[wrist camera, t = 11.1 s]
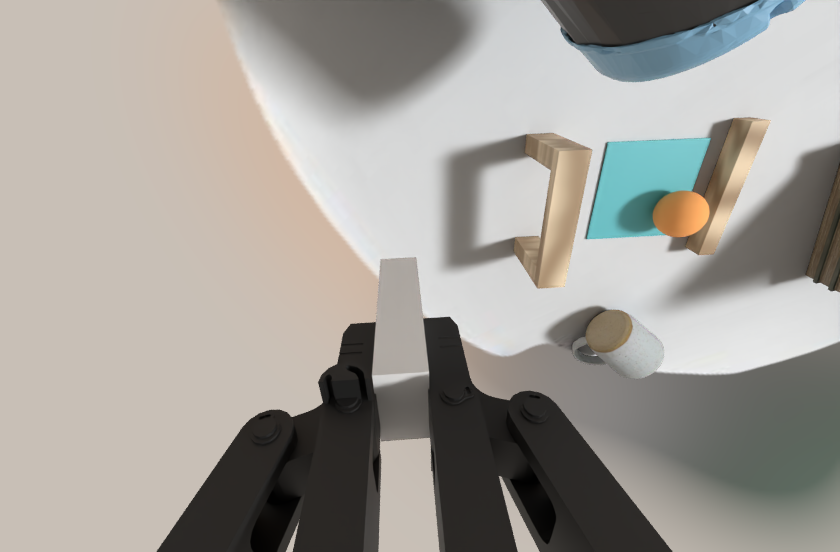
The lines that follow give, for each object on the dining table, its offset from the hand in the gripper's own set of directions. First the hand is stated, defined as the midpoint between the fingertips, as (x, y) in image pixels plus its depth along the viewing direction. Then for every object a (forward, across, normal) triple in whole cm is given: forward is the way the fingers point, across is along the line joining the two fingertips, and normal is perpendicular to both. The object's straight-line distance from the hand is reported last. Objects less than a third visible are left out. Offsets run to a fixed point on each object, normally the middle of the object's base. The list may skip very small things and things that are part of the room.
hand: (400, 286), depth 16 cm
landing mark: (+28, +30, -6) cm, 42 cm away
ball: (+26, +33, -8) cm, 43 cm away
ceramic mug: (+29, +30, -28) cm, 50 cm away
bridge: (+28, +16, -6) cm, 33 cm away
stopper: (+28, +39, -6) cm, 49 cm away
